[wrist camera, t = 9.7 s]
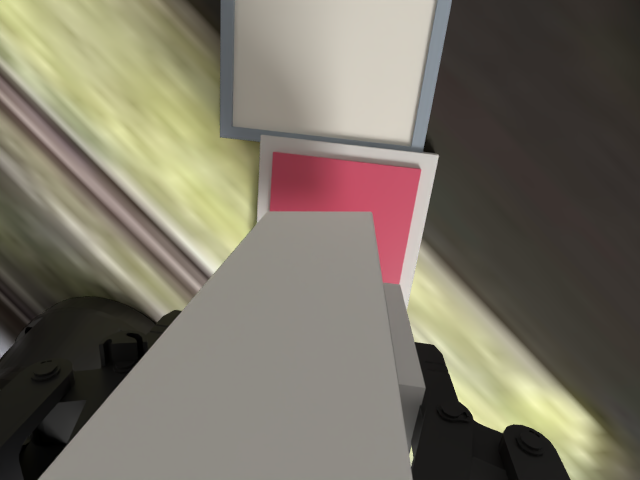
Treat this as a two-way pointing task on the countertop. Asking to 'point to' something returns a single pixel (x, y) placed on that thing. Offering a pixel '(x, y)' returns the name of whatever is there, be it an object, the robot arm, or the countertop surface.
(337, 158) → the ink pad
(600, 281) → the countertop surface
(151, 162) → the countertop surface
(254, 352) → the milk
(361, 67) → the marked square
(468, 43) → the countertop surface
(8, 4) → the countertop surface
